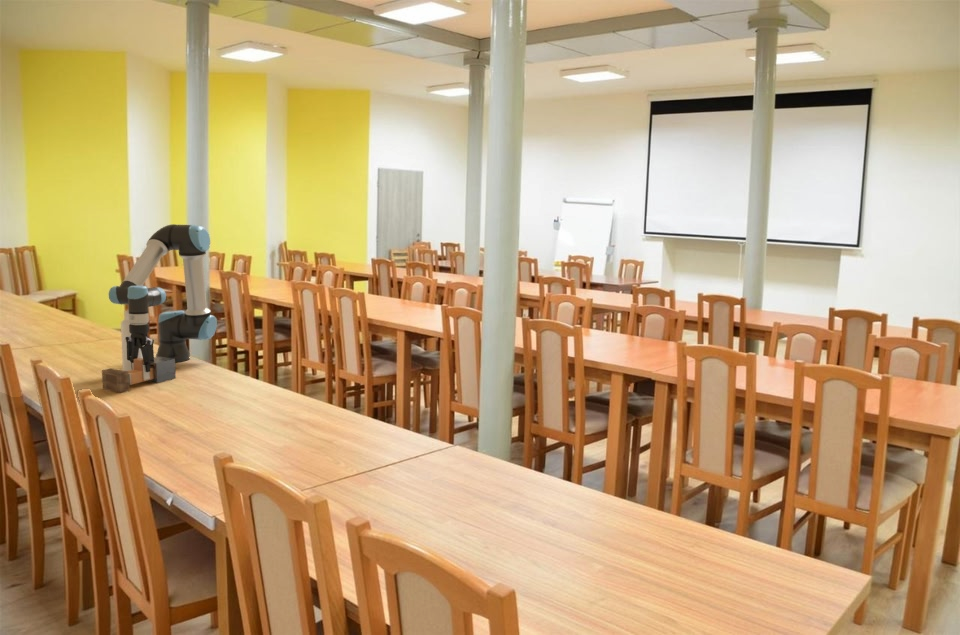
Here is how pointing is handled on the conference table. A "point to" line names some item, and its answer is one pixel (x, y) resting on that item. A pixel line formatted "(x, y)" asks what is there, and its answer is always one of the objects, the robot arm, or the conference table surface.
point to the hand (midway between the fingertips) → (141, 378)
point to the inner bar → (139, 372)
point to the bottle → (125, 334)
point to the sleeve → (163, 369)
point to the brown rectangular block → (115, 380)
